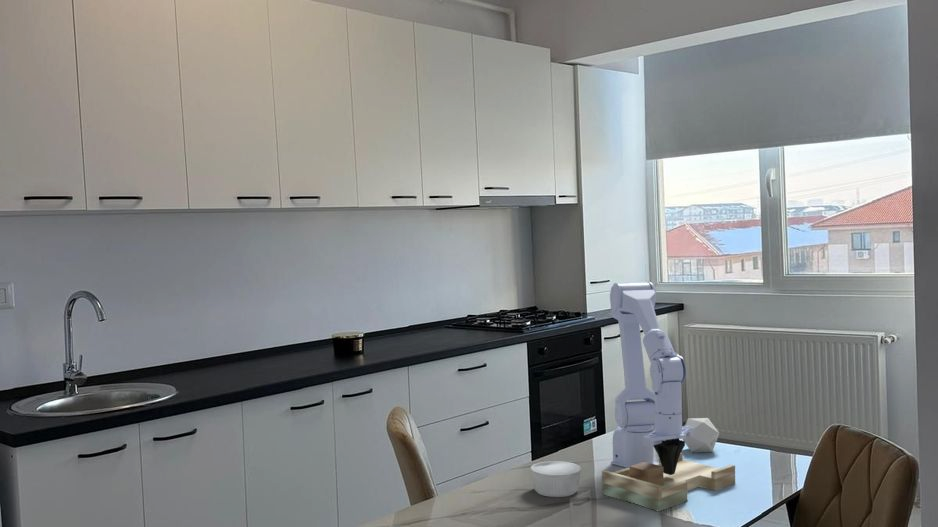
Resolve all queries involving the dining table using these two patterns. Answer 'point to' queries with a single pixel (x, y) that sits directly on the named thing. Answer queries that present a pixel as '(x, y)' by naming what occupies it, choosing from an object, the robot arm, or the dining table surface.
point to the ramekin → (555, 478)
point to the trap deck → (666, 484)
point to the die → (701, 435)
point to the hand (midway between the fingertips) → (669, 473)
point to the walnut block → (648, 473)
